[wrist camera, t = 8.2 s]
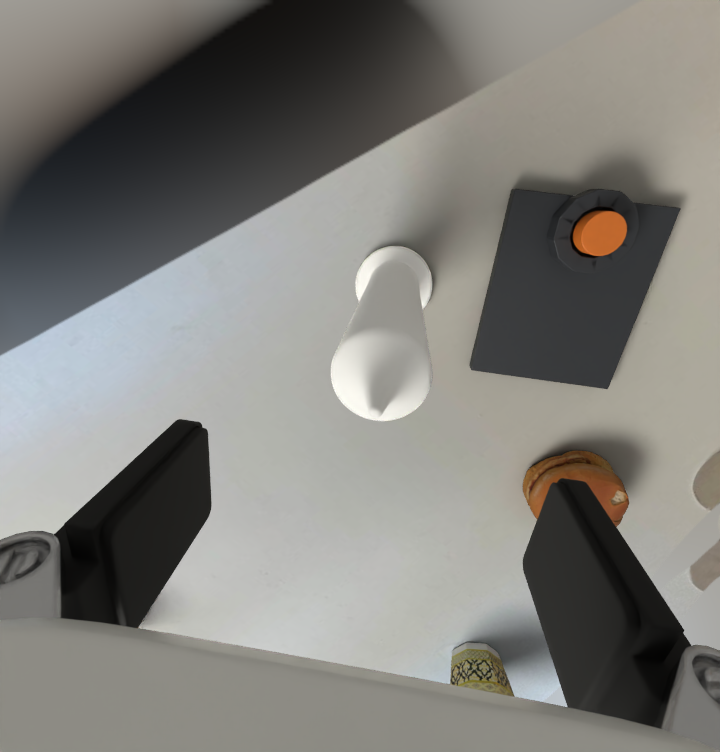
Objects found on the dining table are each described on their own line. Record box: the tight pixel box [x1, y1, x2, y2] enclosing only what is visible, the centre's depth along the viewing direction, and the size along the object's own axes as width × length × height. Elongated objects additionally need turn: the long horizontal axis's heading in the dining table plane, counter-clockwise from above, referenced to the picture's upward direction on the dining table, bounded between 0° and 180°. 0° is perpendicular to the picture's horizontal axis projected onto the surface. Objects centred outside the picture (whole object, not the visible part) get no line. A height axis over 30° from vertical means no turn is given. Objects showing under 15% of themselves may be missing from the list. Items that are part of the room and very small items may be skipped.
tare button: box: [573, 211, 627, 256], centre depth 31 cm, size 3×3×2 cm
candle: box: [331, 246, 432, 421], centre depth 26 cm, size 7×7×25 cm
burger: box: [523, 451, 629, 527], centre depth 42 cm, size 10×9×5 cm
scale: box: [470, 189, 680, 389], centre depth 35 cm, size 16×13×3 cm
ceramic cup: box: [450, 642, 514, 697], centre depth 53 cm, size 13×10×10 cm
